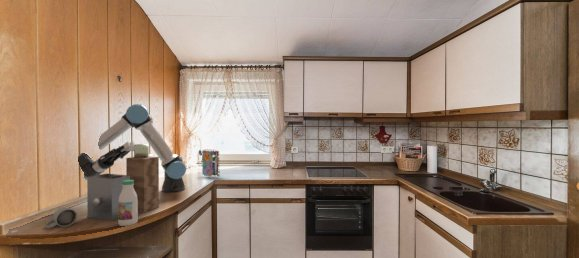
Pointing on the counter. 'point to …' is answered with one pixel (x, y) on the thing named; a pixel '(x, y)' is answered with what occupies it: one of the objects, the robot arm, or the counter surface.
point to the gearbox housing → (104, 195)
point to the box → (210, 163)
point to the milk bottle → (127, 204)
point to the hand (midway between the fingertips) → (131, 143)
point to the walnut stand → (145, 181)
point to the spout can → (139, 150)
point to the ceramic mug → (62, 218)
